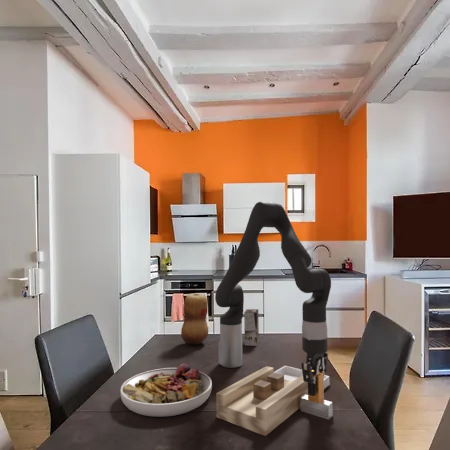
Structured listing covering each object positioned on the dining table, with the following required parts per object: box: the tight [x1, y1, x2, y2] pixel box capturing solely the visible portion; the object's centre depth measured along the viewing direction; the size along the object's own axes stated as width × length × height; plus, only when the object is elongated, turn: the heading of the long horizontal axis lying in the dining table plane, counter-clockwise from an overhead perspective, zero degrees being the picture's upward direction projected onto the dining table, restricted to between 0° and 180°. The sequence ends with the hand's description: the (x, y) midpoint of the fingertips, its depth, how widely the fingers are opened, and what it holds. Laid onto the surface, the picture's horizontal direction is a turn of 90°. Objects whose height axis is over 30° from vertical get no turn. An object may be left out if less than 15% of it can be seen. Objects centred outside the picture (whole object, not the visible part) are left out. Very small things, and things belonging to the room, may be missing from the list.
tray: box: [274, 365, 330, 390], centre depth 130 cm, size 18×14×3 cm
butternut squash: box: [180, 292, 209, 345], centre depth 182 cm, size 14×13×25 cm
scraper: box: [299, 370, 334, 420], centre depth 110 cm, size 9×4×12 cm, turn 52°
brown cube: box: [267, 371, 284, 392], centre depth 118 cm, size 4×4×4 cm
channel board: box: [215, 366, 308, 437], centre depth 113 cm, size 17×28×7 cm, turn 142°
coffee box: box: [243, 308, 260, 347], centre depth 182 cm, size 9×6×16 cm
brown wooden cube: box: [253, 380, 271, 401], centre depth 112 cm, size 4×4×4 cm
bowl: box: [120, 362, 213, 418], centre depth 121 cm, size 30×30×8 cm
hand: (315, 391), depth 110 cm, fingers open, 5 cm apart
